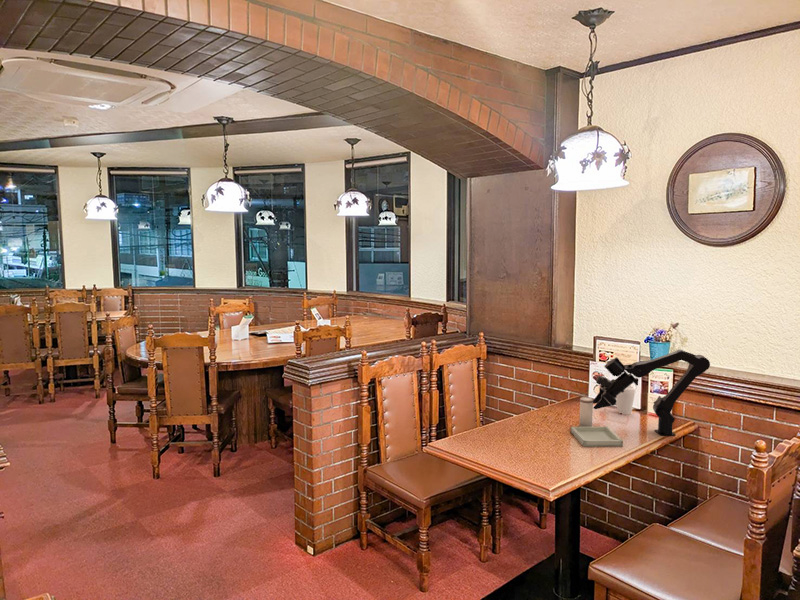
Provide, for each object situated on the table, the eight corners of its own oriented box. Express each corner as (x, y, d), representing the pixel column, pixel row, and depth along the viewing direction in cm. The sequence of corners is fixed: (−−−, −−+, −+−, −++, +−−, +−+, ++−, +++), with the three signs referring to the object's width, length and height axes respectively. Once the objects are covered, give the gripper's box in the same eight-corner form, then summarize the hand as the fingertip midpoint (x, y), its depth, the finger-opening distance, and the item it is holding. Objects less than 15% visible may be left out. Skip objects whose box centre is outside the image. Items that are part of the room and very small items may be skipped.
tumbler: (594, 428, 253) (595, 400, 252) (581, 428, 253) (582, 400, 252) (589, 424, 259) (590, 397, 257) (577, 424, 259) (578, 397, 257)
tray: (622, 446, 231) (622, 440, 231) (583, 446, 231) (584, 441, 231) (606, 431, 249) (606, 426, 249) (570, 432, 249) (570, 426, 249)
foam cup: (614, 414, 274) (615, 388, 272) (613, 409, 283) (614, 383, 281) (635, 416, 271) (636, 390, 270) (633, 410, 280) (634, 385, 278)
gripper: (606, 365, 260) (580, 387, 264) (609, 375, 242) (581, 397, 246) (623, 383, 258) (597, 404, 263) (628, 394, 240) (599, 416, 245)
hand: (593, 405), depth 254 cm, fingers open, 9 cm apart
